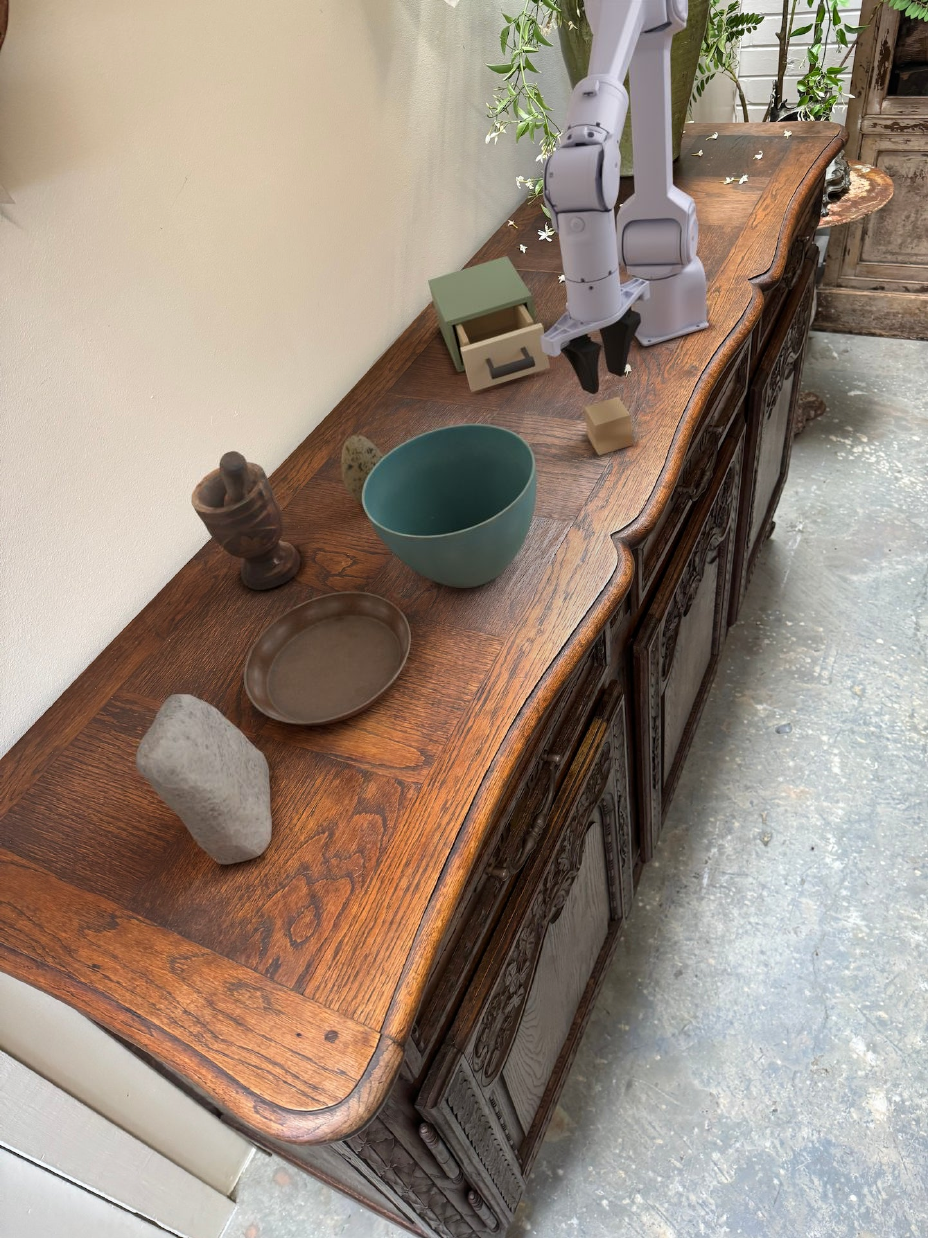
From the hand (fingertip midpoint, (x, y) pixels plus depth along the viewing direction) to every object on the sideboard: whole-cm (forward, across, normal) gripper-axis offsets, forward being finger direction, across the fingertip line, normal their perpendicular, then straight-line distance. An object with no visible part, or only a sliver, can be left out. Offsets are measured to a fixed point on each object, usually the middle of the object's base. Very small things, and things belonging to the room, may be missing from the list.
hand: (603, 381), depth 98 cm
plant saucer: (+9, +45, +5) cm, 46 cm away
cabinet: (+8, -8, -34) cm, 36 cm away
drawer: (+8, -3, -25) cm, 26 cm away
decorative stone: (+9, +60, +13) cm, 62 cm away
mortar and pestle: (+9, +41, -13) cm, 44 cm away
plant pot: (+9, +25, +4) cm, 27 cm away
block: (+8, 0, 0) cm, 8 cm away
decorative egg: (+9, +26, -15) cm, 31 cm away
